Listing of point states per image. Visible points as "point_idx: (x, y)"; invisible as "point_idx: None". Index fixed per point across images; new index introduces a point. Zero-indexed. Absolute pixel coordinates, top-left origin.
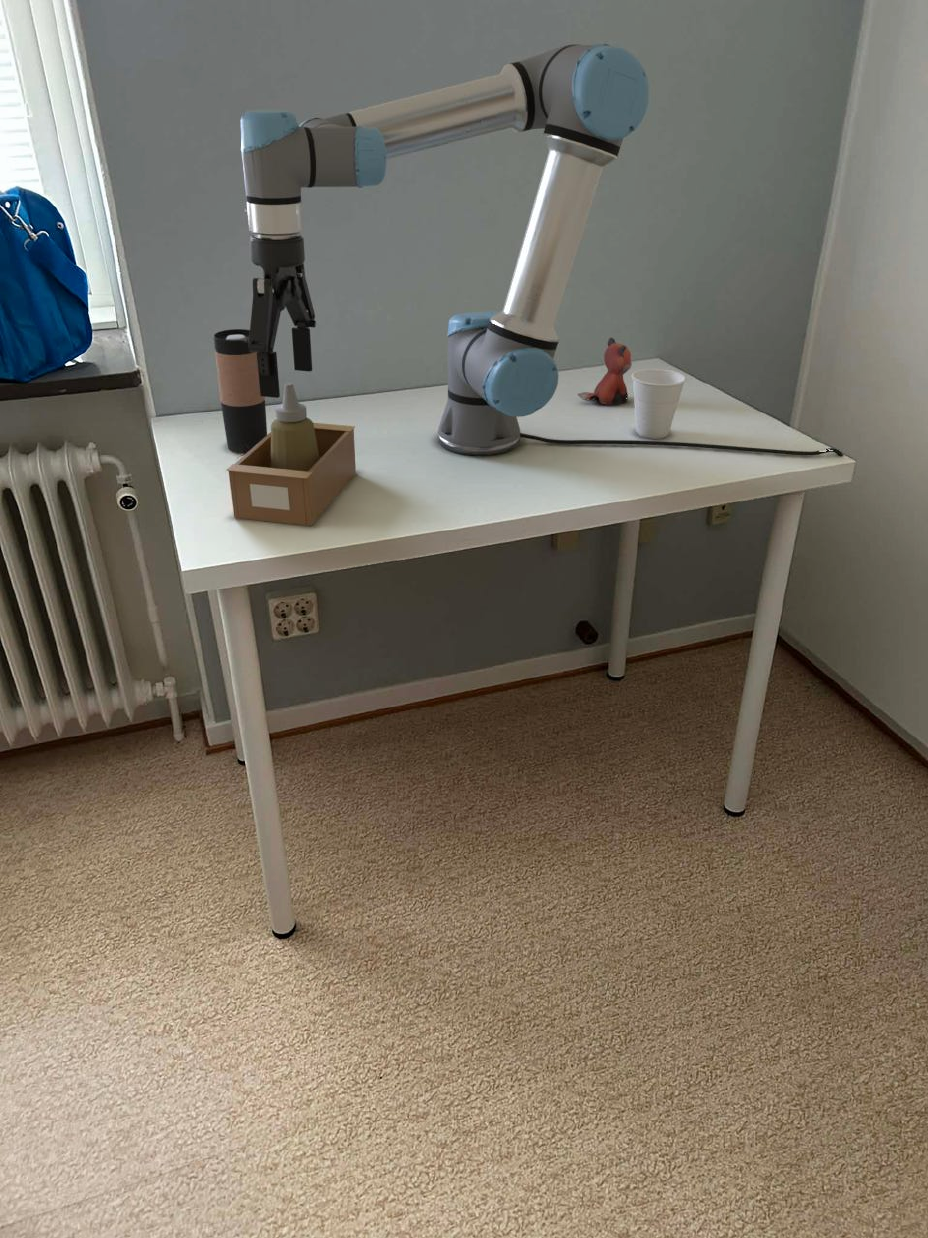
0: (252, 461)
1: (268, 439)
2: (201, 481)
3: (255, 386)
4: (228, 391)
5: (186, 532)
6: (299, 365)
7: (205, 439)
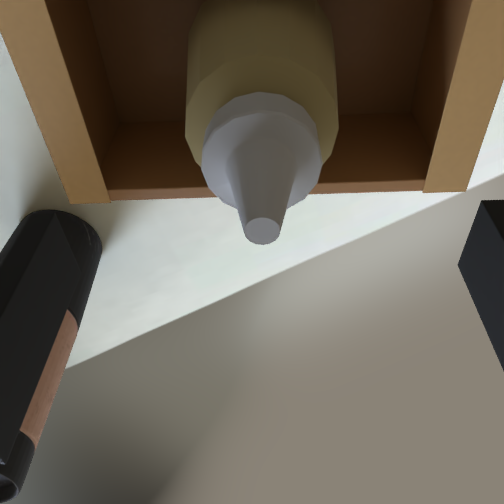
0: (330, 168)
1: None
2: (254, 243)
3: None
4: (67, 354)
5: (491, 175)
6: (66, 272)
7: None
